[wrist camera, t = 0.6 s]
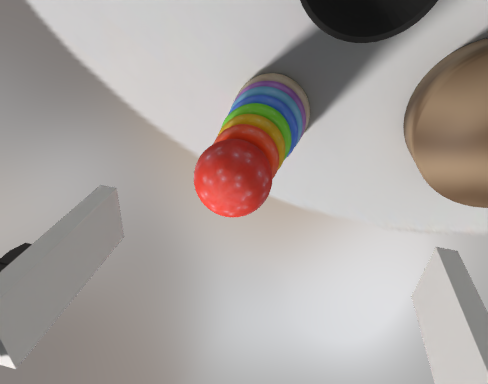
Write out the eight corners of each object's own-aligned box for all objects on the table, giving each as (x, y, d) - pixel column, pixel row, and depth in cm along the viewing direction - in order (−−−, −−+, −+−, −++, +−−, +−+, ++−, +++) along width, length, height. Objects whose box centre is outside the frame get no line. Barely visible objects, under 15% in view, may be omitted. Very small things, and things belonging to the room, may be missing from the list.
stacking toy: (323, 88, 33) (319, 171, 18) (293, 156, 38) (268, 272, 22) (249, 59, 33) (178, 117, 18) (227, 130, 38) (156, 228, 22)
